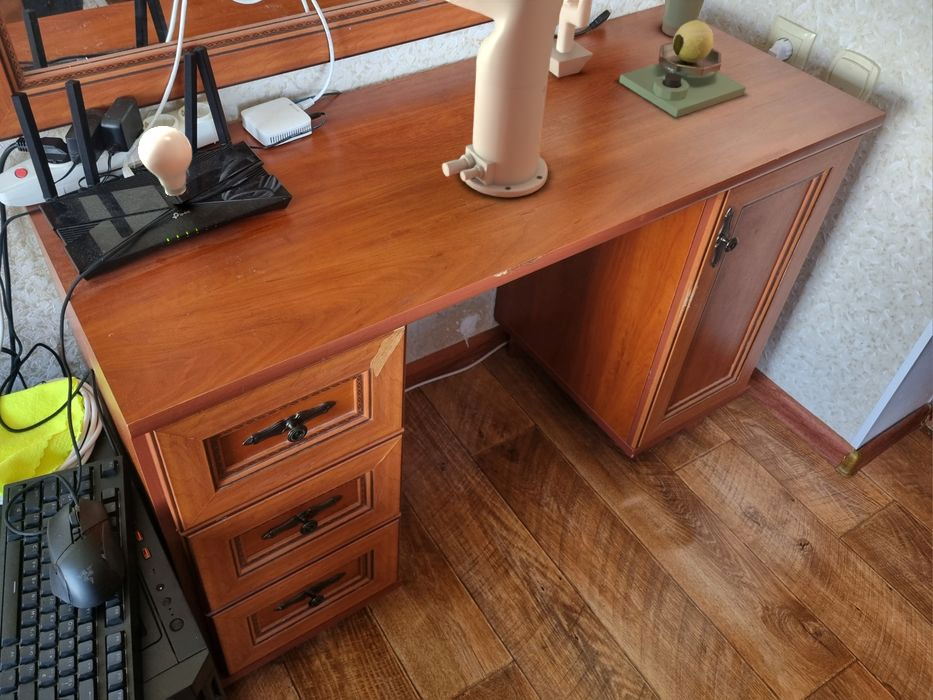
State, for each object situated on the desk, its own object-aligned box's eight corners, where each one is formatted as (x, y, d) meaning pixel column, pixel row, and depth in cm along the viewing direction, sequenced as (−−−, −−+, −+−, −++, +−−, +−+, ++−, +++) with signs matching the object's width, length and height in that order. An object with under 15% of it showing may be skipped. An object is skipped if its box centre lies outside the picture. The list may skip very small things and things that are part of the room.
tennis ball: (699, 51, 137) (709, 13, 132) (714, 69, 132) (725, 30, 127) (665, 53, 136) (673, 14, 131) (678, 71, 131) (688, 31, 126)
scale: (675, 117, 127) (680, 100, 125) (619, 82, 135) (622, 65, 133) (743, 94, 134) (748, 78, 132) (685, 61, 142) (689, 45, 140)
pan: (688, 83, 130) (690, 72, 128) (646, 58, 135) (648, 48, 134) (730, 69, 134) (733, 59, 132) (688, 46, 140) (690, 36, 138)
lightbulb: (145, 201, 105) (123, 127, 98) (188, 184, 109) (169, 111, 101) (170, 222, 102) (149, 148, 95) (212, 204, 106) (196, 131, 98)
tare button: (671, 90, 128) (673, 81, 127) (660, 84, 130) (662, 75, 129) (682, 86, 129) (684, 78, 128) (671, 80, 131) (673, 71, 130)
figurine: (562, 54, 142) (574, -32, 131) (594, 76, 136) (608, -12, 126) (529, 62, 139) (538, -26, 128) (559, 85, 134) (571, -5, 123)
